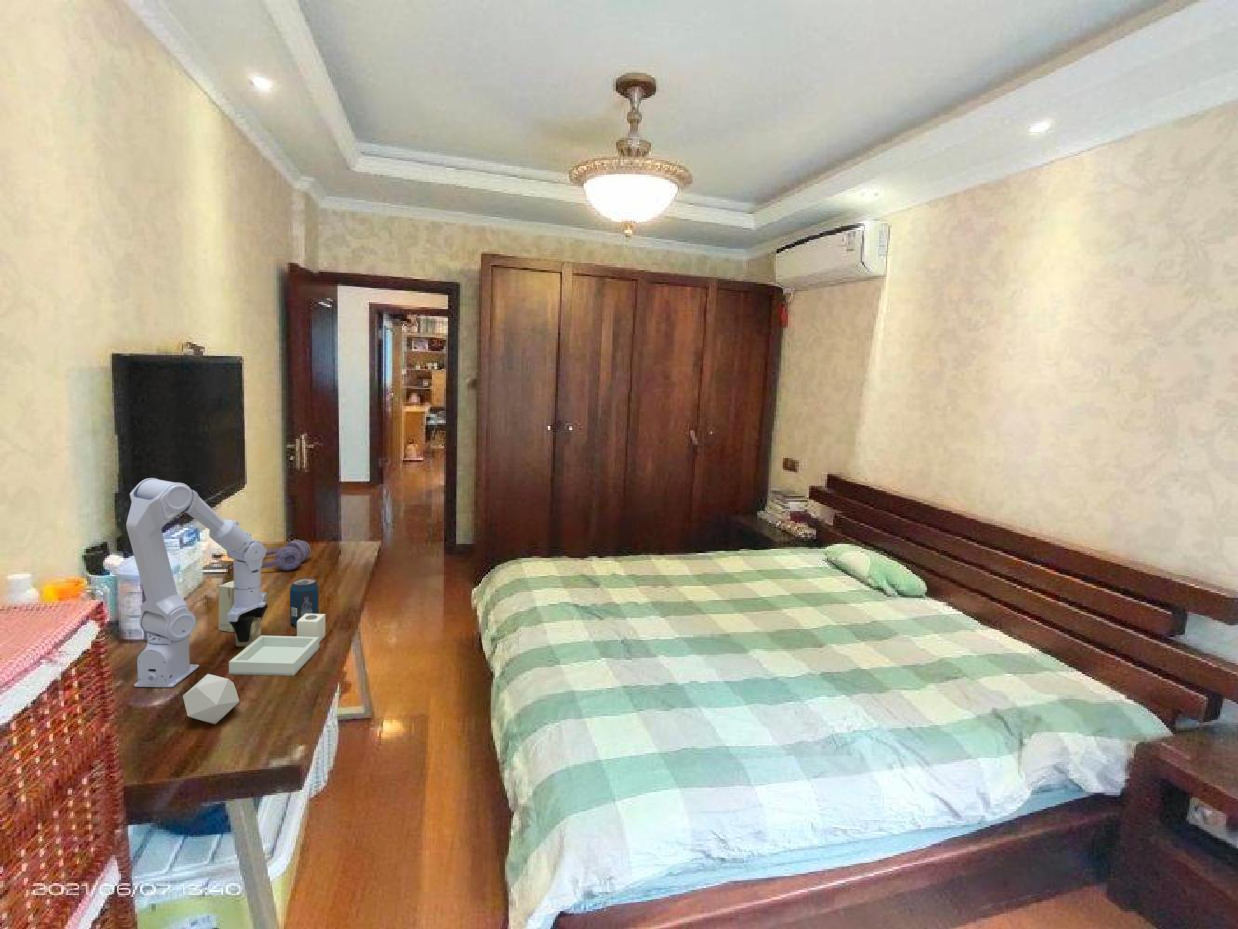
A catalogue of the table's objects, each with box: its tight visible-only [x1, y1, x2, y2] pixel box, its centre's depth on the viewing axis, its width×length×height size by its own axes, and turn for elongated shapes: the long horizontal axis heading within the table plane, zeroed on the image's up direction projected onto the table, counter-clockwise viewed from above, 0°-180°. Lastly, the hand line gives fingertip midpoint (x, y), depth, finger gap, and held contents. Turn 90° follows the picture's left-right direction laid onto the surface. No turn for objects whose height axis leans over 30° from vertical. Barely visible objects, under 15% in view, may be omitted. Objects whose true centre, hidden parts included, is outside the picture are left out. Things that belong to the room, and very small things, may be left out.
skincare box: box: [218, 580, 235, 633], centre depth 157 cm, size 6×4×12 cm
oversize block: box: [296, 613, 326, 643], centre depth 153 cm, size 5×5×6 cm
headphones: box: [261, 539, 312, 572], centre depth 206 cm, size 18×8×20 cm
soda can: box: [289, 577, 320, 628], centre depth 162 cm, size 7×7×12 cm
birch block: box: [235, 617, 262, 647], centre depth 149 cm, size 4×4×6 cm
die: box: [182, 673, 240, 725], centre depth 117 cm, size 8×9×10 cm
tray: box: [228, 634, 320, 677], centre depth 141 cm, size 14×14×3 cm
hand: (248, 637), depth 149 cm, fingers closed on birch block, 4 cm apart
